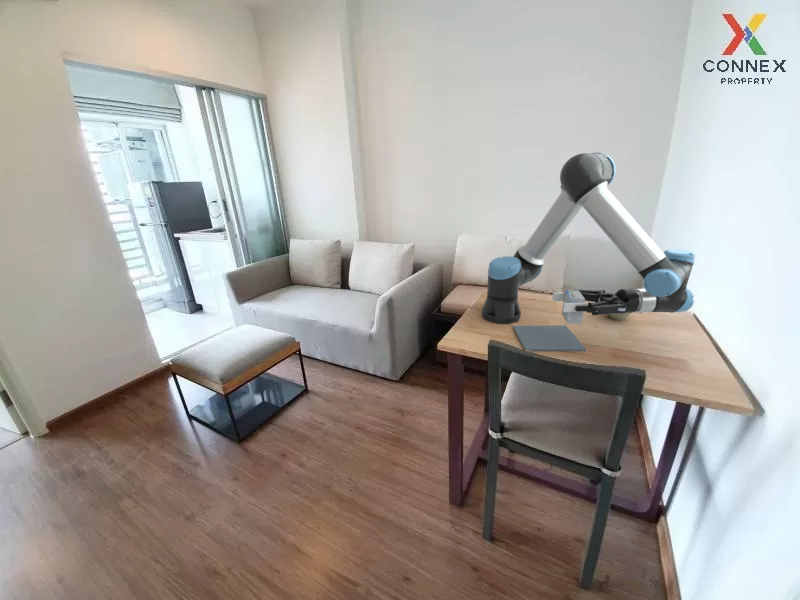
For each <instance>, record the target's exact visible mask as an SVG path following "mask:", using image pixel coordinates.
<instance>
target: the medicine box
mask: <svg viewBox="0 0 800 600" xmlns="http://www.w3.org/2000/svg"><path fill="white" fill-rule="evenodd" d="M578 290H579V289H573V290H572V289H567V290H564V292H563V293H564V300H563V301H562V302H563V303H562V305H563V304H564V303H586V301H585V298H584V297H583V296H582V294H581V293H580V292H579V291H578ZM561 314H562V316H563V318H564V320H565V322H566V323H567V324H570V325H573V324H574V325H582V324H583V317H584V312H563V306H562V309H561Z"/></svg>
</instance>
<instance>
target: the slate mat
mask: <svg viewBox="0 0 800 600" xmlns="http://www.w3.org/2000/svg"><path fill="white" fill-rule="evenodd" d="M512 328H513V331H514V332H515V334H516V336H517V338H518V340H519V342H520V344H521V346H522V348H523V350H524V349H525V350H529V351H528V352H586V351H587V349H586V347H585V345H583V344H582V343H581V341H580V340H579V339H578V338H577V337H576V335H575V334H574V333H573V332H572V331H571V330H570V329H569V327H568V326H567V325H513V326H512ZM525 350H524V351H525Z"/></svg>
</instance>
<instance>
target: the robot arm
mask: <svg viewBox="0 0 800 600" xmlns="http://www.w3.org/2000/svg"><path fill="white" fill-rule="evenodd" d="M616 167H617V166H616V163H615V161H614V160H613V158H612V157H611V156H609V155H608V154H605V153H602V152H592V153H588V152H587V153H579V154H576V155H574V156H571V157H570V158H569V159H568V160H567V161H566V162H565V163H564V164H563V165H562V168H561V170H560V174H559V180H560V194H559V195H558V196H557V198H556V199H555V200H554V202H553V204H552V205H551V206H550V208H549V210H548V212H547V213H546V215H544V217H543V219H542V220H541V222H540V223H539V225H538V226H537V227H536V229H535V230H534V232H533V234H532V235H531V236H530V238H529V239H528V240H527V242H526V243H525V245H521V246H519V247H518V249H517V250H515V251H516V252H515V253H514V255H513V256H507V255H506V256H505V255H504V256H501V257H500V256H499V257H495V258H494V259H492V260H490V262H489V265H488V270H487V291H486V292H487V293H486V299H485V301H484V304H483V306H482V307H481V316H482V318H483V319H484V320H486V321H487V322H490V323H493V324H500V325H501V324H502V325H507V324H508V325H509V324H514V323H517V322H518V321H520V319H521V316H522V315H521V313H522V311H521V308H520V303H519V300H518V296H519V288H520V287H521V286H523V285H525V284H527V283H529V282H532V281H534V280H535V279H537V278H538V276H539V275H540V274H541V272H542V271H543V270H542V269H543V266H544V265H545V263H546V259H545V257H546V256H547V254H548V253H549V252H550V251H551V249H552V247H554V245H555V243H556V242H557V241H558V239H559V238H560V237H561V235H563V233H564V232H565V230H566V229H567V228H568V226H569V225H570V223H571V222H572V221H573V220H574V218H575V217H577V214H578V213H579V212H580V211H581V209H582V208H583V209H584V210H585V211H586V212H587V214H588V215H589V216H590V217H591V218H592V219H593V221H594V222H595V223H596V224H597V225H598V227H599V228H600V229H601V230H602V231H603V233H604V234H605V235H606V237H608V238H609V240H610V241H611V242H612V244H614V246H615V247H616V248H617V249H618V251H619V252H620V253H621V254H622V255H623V256H624V258H626V260H627V261H628V262H629V263H630V265H631V266H632V267H633V268H634V270H635V271H636V272H637V273H638V274H639V275H640V277H641V278H642V279H643V288H642V287H641V288H620V289H619V290H617V291H616V292H615V293H610V292H607V293H606V290H605V289H600V290H599V289H598V290H596V289H595V290H591V289H577V290H578V291H579V292H580V293H581V294H582V296H583V297H584V298H585V303H564V304H563V303H562V307H563V312H583V313H584V312H585V313H589V314H591V315H592V316H602V315H609V314H613V313H631V314H632V313H638V314H643V313H673V314H674V313H682V312H686V311H689V310H690V309H691V308H692V307H693V305H694V302H695V300H694V299H693V298H694V293H693V292H692V291H691V289H689V288H687V286H688V283H689V279H690V276H691V273H692V269H693V267H694V265H695V262H694V261H695V257H696V253H694V252H693V251H691V250H687V249H681V248H680V249H679V248H675V249H674V248H670V249H666V250H664V251H662V249H660V247H659V246H658V244H656V243H655V241H654V240H653V239H652V238H651V237H650V236H649V235H648V234H647V232H646V231H645V230H644V229H643V228H642V227H641V225H639V223H638V222H637V221H636V220H635V218H634V217H633V216H632V215H631V214H630V213H629V211H628V210H627V209H626V208H625V207H624V206H623V205H622V204H621V203H620V201H619V200H618V199H617V198H616V197H615V196H614V195H613V193H612V192H611V191H610V190H609V189H608V186H609V185H610V184H611V183H612V181H613V180H614V178H615V175H616V173H617V168H616ZM564 293H565V292H553V294H552V301H553V302H563V300H564Z"/></svg>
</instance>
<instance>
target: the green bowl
mask: <svg viewBox="0 0 800 600" xmlns="http://www.w3.org/2000/svg"><path fill="white" fill-rule="evenodd" d="M631 314H632V313H613V314H608V316H609V317H610V318H611V319H613V320H618V321H623V320H626V319H628V317H629V316H630V315H631Z"/></svg>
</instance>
